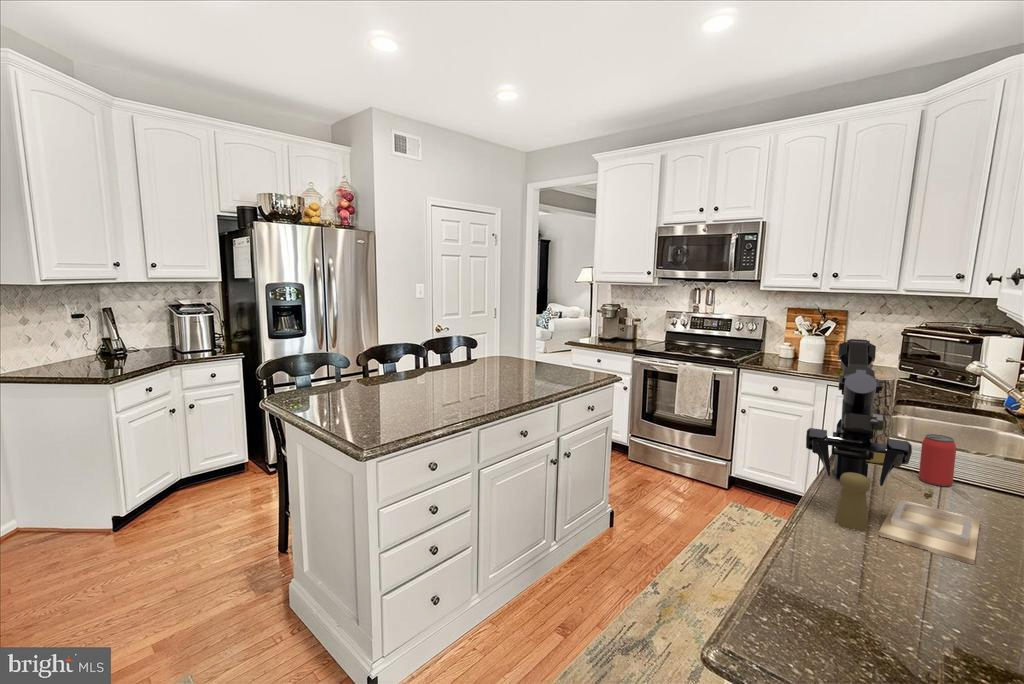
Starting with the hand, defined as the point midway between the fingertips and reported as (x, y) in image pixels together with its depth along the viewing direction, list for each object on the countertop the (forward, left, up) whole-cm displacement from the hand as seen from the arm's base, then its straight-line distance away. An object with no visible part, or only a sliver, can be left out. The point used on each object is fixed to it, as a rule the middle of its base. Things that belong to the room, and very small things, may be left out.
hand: (854, 480), depth 102 cm
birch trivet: (+14, +2, -9) cm, 17 cm away
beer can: (+26, +33, -9) cm, 43 cm away
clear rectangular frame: (+14, +2, -9) cm, 17 cm away
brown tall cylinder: (+16, +46, -9) cm, 50 cm away
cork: (0, -1, -9) cm, 10 cm away
